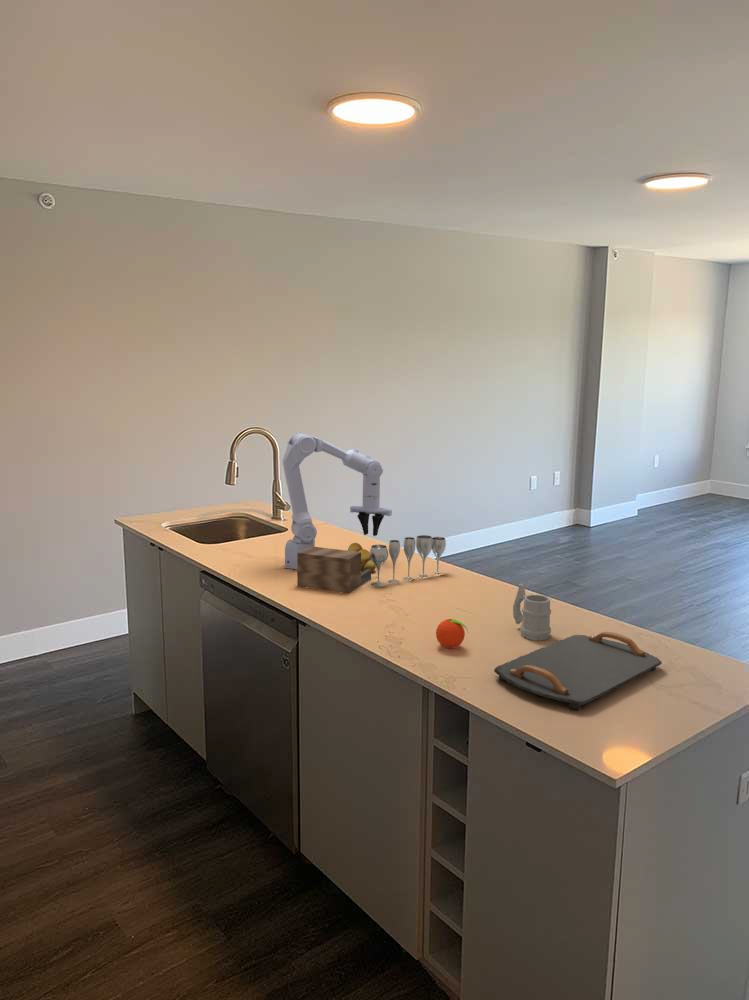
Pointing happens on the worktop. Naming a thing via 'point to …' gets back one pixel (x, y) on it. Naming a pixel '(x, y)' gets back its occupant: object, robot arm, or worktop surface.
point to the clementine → (450, 633)
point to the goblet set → (407, 553)
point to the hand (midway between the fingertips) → (370, 534)
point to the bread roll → (363, 557)
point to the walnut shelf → (330, 569)
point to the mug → (532, 615)
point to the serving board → (578, 668)
